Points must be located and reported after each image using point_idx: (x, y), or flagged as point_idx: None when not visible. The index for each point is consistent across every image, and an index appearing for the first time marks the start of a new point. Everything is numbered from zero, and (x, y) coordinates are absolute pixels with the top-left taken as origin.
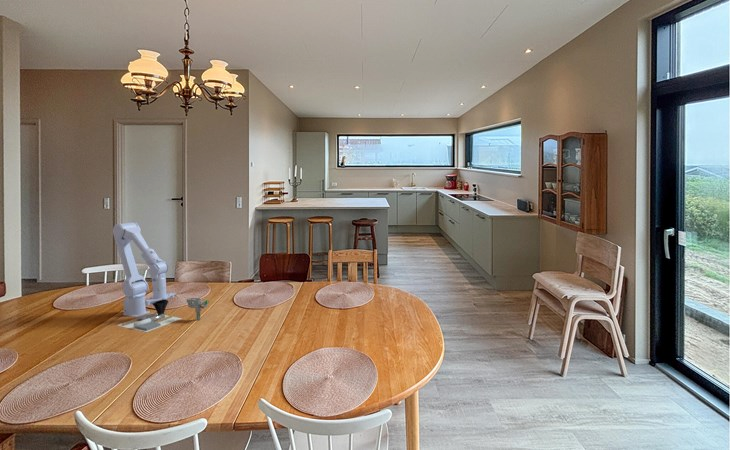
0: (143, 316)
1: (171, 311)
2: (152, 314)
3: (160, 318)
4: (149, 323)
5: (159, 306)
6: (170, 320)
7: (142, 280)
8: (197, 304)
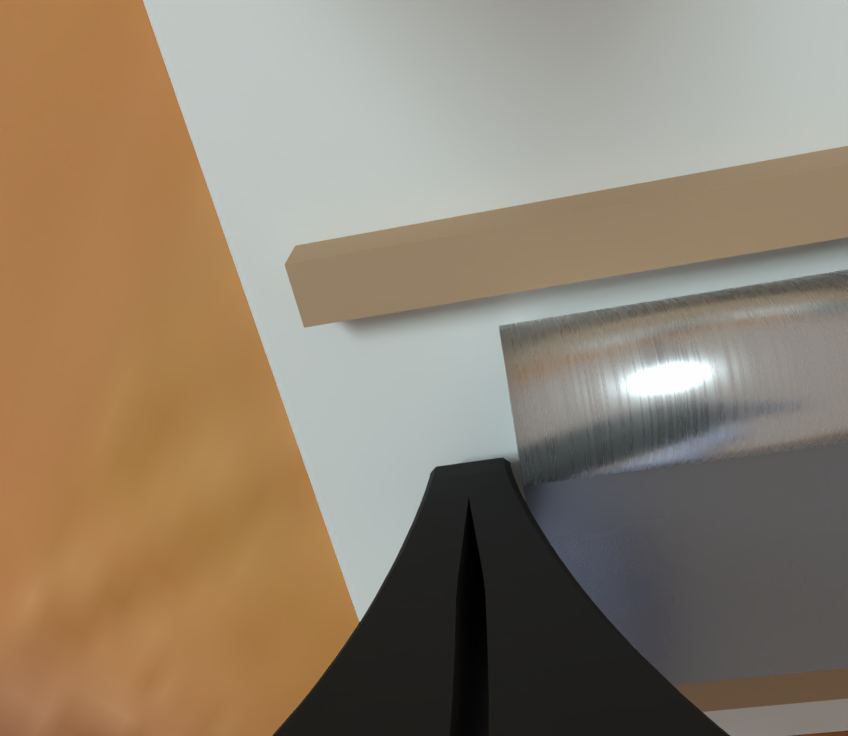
0: (730, 708)
1: (109, 642)
2: None
3: (668, 300)
4: None
5: (708, 727)
6: (483, 7)
7: None
8: None
